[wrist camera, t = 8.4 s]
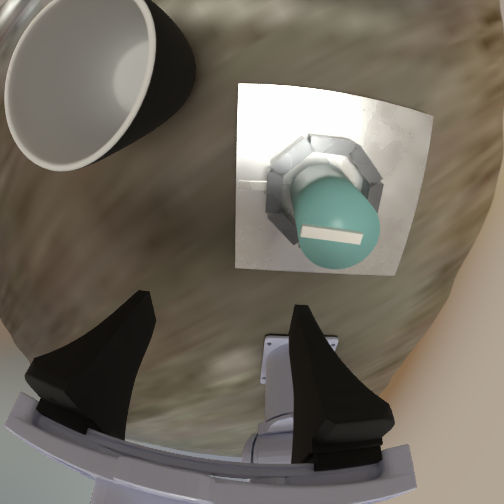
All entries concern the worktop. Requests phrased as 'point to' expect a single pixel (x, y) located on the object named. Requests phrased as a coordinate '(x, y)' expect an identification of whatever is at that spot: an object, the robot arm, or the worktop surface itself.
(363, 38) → the worktop surface
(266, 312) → the worktop surface
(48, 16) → the mug
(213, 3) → the worktop surface
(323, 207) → the knob
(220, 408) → the worktop surface
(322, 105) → the panel
